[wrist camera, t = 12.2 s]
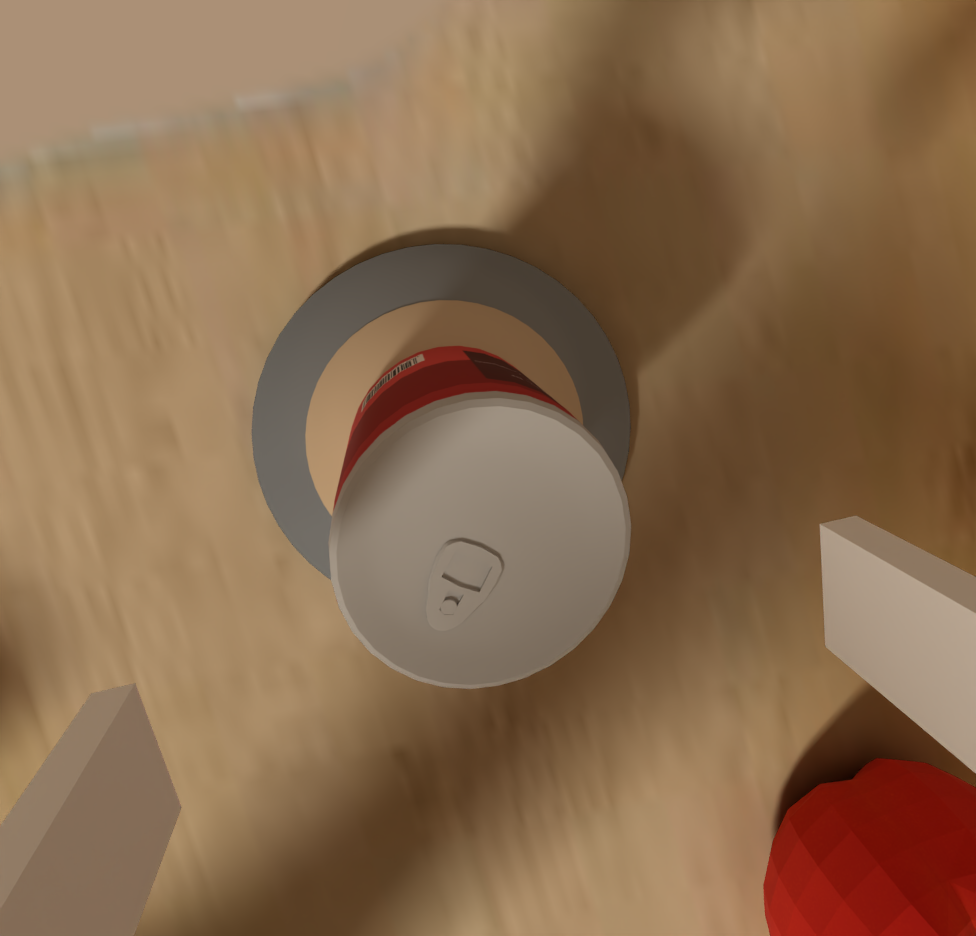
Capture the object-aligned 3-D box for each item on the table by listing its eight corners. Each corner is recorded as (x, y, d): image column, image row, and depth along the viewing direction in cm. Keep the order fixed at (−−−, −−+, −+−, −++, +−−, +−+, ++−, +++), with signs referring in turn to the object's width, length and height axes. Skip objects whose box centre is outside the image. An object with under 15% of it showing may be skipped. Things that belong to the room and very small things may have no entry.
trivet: (309, 637, 31) (306, 648, 30) (207, 284, 26) (200, 285, 25) (642, 562, 32) (649, 571, 31) (600, 211, 27) (607, 210, 26)
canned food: (335, 523, 28) (305, 678, 18) (366, 323, 26) (353, 367, 16) (520, 549, 30) (592, 706, 19) (563, 361, 28) (669, 424, 17)
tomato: (704, 783, 36) (827, 986, 26) (944, 686, 36) (1156, 850, 26) (762, 964, 40) (887, 1198, 30) (976, 875, 40) (1170, 1078, 30)
